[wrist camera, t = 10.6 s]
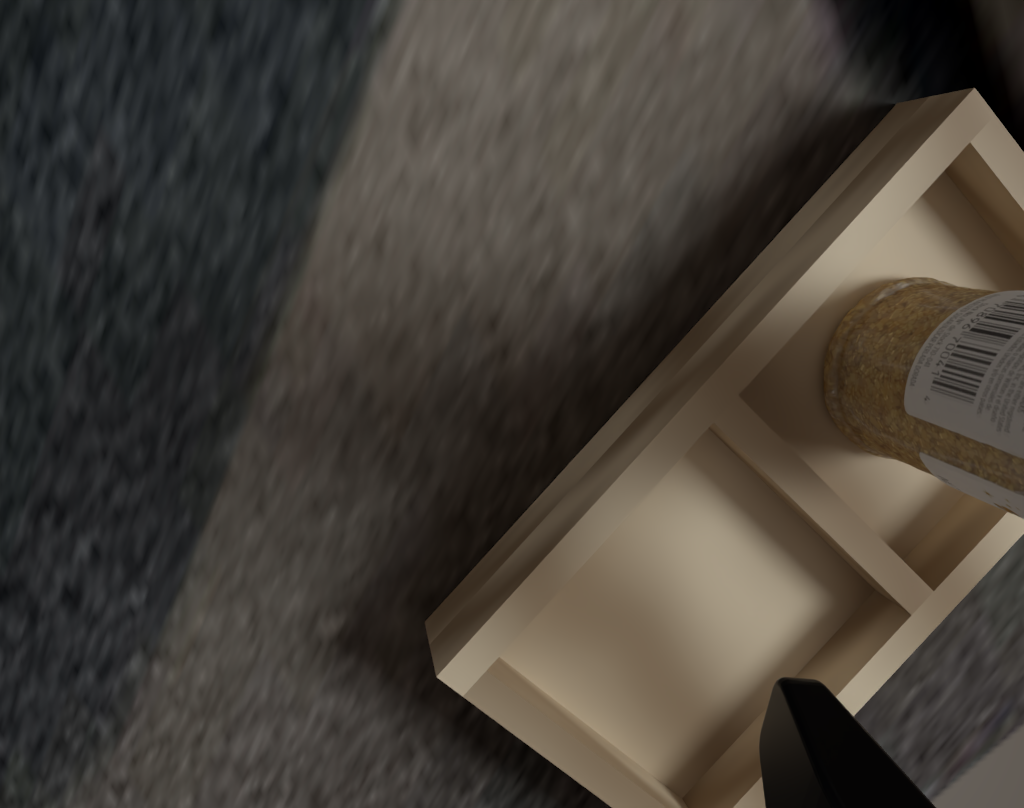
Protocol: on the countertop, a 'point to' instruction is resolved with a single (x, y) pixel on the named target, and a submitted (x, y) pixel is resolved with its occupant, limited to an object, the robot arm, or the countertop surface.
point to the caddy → (747, 501)
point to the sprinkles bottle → (935, 384)
